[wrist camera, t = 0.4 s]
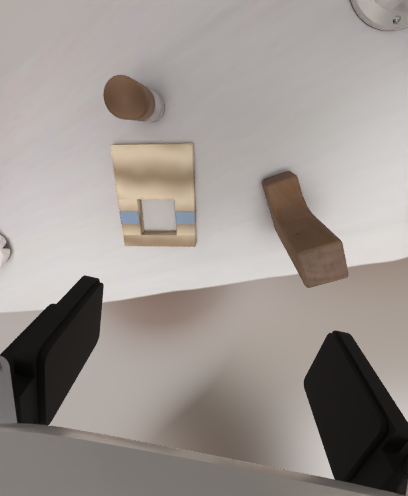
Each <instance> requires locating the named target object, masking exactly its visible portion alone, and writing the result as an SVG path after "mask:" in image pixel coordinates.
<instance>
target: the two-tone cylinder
mask: <svg viewBox="0 0 408 496" xmlns="http://www.w3.org/2000/svg"><path fill="white" fill-rule="evenodd" d="M104 101H105V104H106V106H107V108H108V110H109V111H110V112H111V113H112V114H113V115H114V116H116V117H118V118H120V119H127V120H137V121H147V122H155V121H158V120H159V119H160V118H161V117H162V116H163V114H164V110H165V105H164V101H163V99H162V97H161V96H160V95H159V94H158V93H156V92H155V91H153V90H151V89H149V88H148V87H146V86H144V85H142V84H140V83H139V82H137V81H135V80H133V79H131V78H130V77H128V76H125V75H117V76H114V77H112V78H111V79H110V80H109V81H108V82H107V83H106V85H105V88H104Z"/></svg>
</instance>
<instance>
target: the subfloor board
mask: <svg viewBox="0 0 408 496" xmlns="http://www.w3.org/2000/svg"><path fill="white" fill-rule="evenodd" d="M110 147H111V154H112V161H113V168H114V174H115V181H116V188H117V195H118V202H119V209H120V219H121V224H122V229H123V236H124V243H125V246H183V247H195V246H196V209H195V176H194V143H178V144H115V145H110ZM141 199H175V215H176V228H177V231H144V224H143V215H142V206H141Z"/></svg>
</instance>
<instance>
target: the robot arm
mask: <svg viewBox="0 0 408 496" xmlns="http://www.w3.org/2000/svg"><path fill="white" fill-rule="evenodd" d="M351 2H352V5H353V8H354V9H355V11H356V13H357V14H358V16H359V17H360V18H361V19H362V20H363V21H364V22H365V23H366V24H368V25H370V26H372V27H374V28H377V29H380V30H398V29H403V28H406V27H408V0H351ZM393 20H394V23H393ZM102 298H103V283H100V281H99V279H98V278H94V277H89V276H83V277H82V278H81V279H80V280H79V281H78V282H77V283H76V284H75V285H74V286H73V287H72V288H71V289H70V290H69V291H68V293H67V294H66V295H65V296H64V297H63V298H62V299H61V300H60V301H59V302H58V303H57V304H50V305H49V306H48V307H47V308H46V309H45V310H44V311H43V312H42V313H41V314H40V315H39V316H38V317H37V318H36V319H35V320H34V321H33V322H32V323H31V324H30V325H29V326H28V327H27V328H26V329H25V330H24V331H23V332H22V333H21V334H20V335H19V336H18V337H17V338H16V339H15V340H14V341H13V342H12V343H11V344H10V345H9V346H8V347H7V348H6V349H5V350H4V351H3V352H2V353H1V354H0V496H408V422H407V421H406V419H405V418H404V416H403V414H402V413H401V411H400V410H399V408H398V407H397V405H396V404H395V402H394V400H393V399H392V397H391V396H390V394H389V393H388V391H387V390H386V388H385V387H384V385H383V384H382V382H381V380H380V379H379V377H378V376H377V374H376V373H375V371H374V370H373V368H372V366H371V365H370V363H369V362H368V360H367V359H366V357H365V356H364V354H363V353H362V351H361V349H360V348H359V346H358V345H357V343H356V342H355V340H354V339H353V337H352V336H351V335H350V334H349V333H345V332H340V331H333V332H332V333H329V334H328V335H327V337H326V338H325V340H324V342H323V344H322V346H321V348H320V350H319V352H318V354H317V356H316V358H315V360H314V361H313V364H312V365H311V367H310V369H309V371H308V373H307V375H306V377H305V379H304V388H305V391H306V394H307V398H308V400H309V404H310V406H311V410H312V412H313V416H314V419H315V422H316V425H317V428H318V431H319V434H320V437H321V440H322V443H323V446H324V449H325V452H326V455H327V458H328V461H329V464H330V467H331V470H332V473H333V476H334V478H335V480H333V479H328V478H324V477H319V476H314V475H308V474H304V473H299V472H294V471H289V470H284V469H279V468H274V467H269V466H264V465H259V464H254V463H249V462H244V461H239V460H234V459H229V458H224V457H219V456H213V455H209V454H203V453H198V452H193V451H188V450H183V449H177V448H172V447H167V446H162V445H156V444H151V443H146V442H141V441H136V440H131V439H125V438H120V437H115V436H109V435H103V434H98V433H92V432H86V431H80V430H75V429H69V428H63V427H56V426H48V425H49V424H50V422H51V421H52V419H53V418H54V416H55V414H56V412H57V411H58V409H59V407H60V406H61V404H62V402H63V400H64V398H65V397H66V395H67V393H68V392H69V390H70V389H71V387H72V385H73V383H74V382H75V380H76V378H77V377H78V375H79V373H80V371H81V370H82V368H83V366H84V364H85V362H86V361H87V359H88V357H89V356H90V354H91V352H92V351H93V349H94V347H95V346H96V343H97V341H98V338H99V333H100V320H101V310H102Z"/></svg>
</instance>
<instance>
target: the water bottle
mask: <svg viewBox="0 0 408 496" xmlns="http://www.w3.org/2000/svg"><path fill="white" fill-rule="evenodd" d="M5 244H6V240H5V238H4V237H3V236H1V235H0V267H1V266H2V265H3V264H4V263H5V262H6V261H7V259H8V258H9V255H10V249H8V248H3V247H4V246H5Z"/></svg>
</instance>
